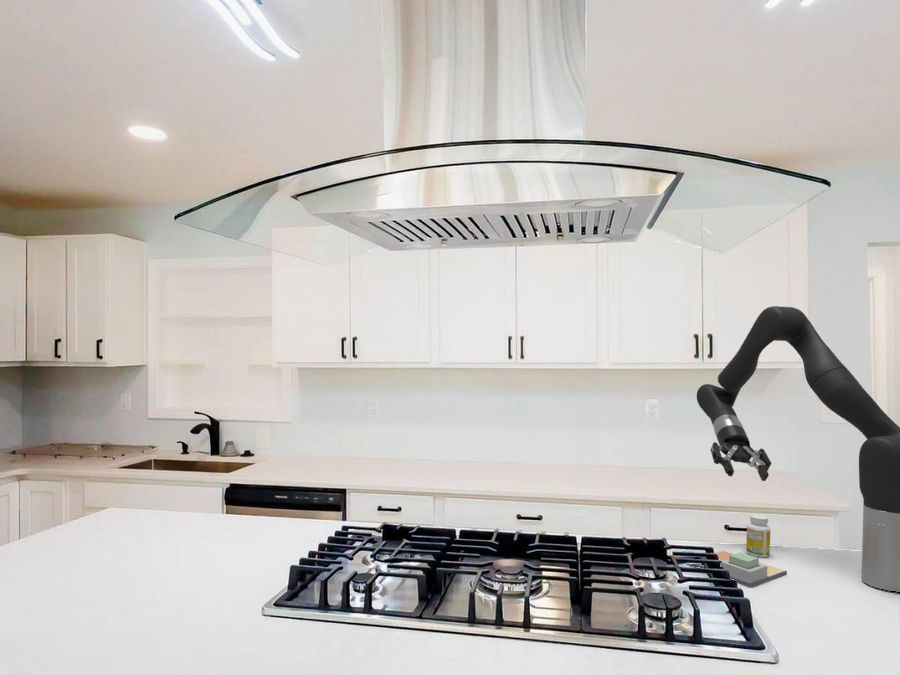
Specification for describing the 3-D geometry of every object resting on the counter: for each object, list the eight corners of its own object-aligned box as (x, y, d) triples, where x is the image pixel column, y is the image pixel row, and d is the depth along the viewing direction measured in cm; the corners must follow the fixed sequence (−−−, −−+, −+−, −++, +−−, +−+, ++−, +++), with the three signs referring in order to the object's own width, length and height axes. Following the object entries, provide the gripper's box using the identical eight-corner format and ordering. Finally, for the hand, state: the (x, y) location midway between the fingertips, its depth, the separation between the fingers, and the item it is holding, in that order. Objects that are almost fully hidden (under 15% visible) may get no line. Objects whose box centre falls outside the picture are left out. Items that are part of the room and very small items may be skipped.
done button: (758, 569, 138) (758, 558, 138) (747, 572, 136) (748, 561, 136) (739, 563, 142) (740, 552, 142) (729, 566, 139) (729, 555, 139)
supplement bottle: (754, 558, 152) (755, 519, 152) (741, 550, 158) (742, 513, 158) (774, 558, 153) (775, 519, 153) (761, 550, 158) (762, 513, 158)
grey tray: (786, 574, 142) (787, 560, 142) (751, 587, 134) (751, 572, 134) (722, 553, 155) (722, 540, 155) (686, 564, 147) (686, 550, 147)
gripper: (709, 420, 170) (725, 462, 156) (761, 427, 169) (781, 469, 156) (700, 440, 174) (715, 483, 160) (751, 447, 173) (770, 490, 160)
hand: (748, 476), depth 158 cm, fingers open, 8 cm apart
